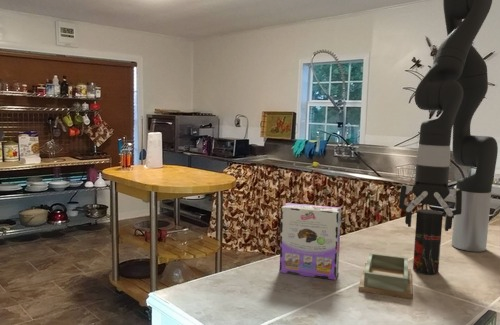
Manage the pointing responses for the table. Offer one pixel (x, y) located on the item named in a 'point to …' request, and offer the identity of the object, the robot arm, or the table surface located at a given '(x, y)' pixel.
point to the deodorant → (427, 241)
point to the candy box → (310, 240)
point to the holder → (387, 276)
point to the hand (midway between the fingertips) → (427, 228)
